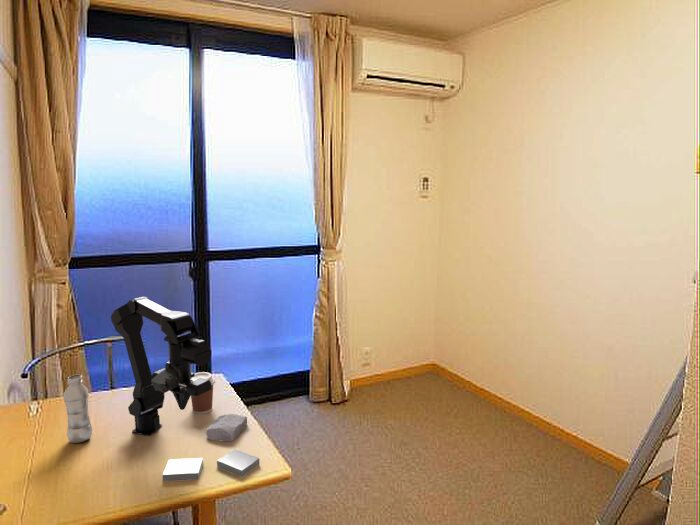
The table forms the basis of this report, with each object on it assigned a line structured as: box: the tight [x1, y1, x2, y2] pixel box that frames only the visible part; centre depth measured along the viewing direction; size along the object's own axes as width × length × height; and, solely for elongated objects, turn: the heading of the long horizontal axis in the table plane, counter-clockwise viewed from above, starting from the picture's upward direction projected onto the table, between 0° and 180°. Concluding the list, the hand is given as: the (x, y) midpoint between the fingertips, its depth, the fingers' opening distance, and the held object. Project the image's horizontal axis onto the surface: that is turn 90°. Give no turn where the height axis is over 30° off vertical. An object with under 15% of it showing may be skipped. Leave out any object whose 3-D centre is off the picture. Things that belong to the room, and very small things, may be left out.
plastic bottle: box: [62, 374, 93, 444], centre depth 148 cm, size 6×7×20 cm
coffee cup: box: [190, 371, 216, 415], centre depth 170 cm, size 9×9×12 cm
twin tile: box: [162, 457, 204, 482], centre depth 134 cm, size 9×7×2 cm
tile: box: [216, 448, 260, 478], centre depth 138 cm, size 2×7×9 cm
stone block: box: [205, 413, 248, 442], centre depth 156 cm, size 12×5×10 cm
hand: (182, 409), depth 145 cm, fingers closed
